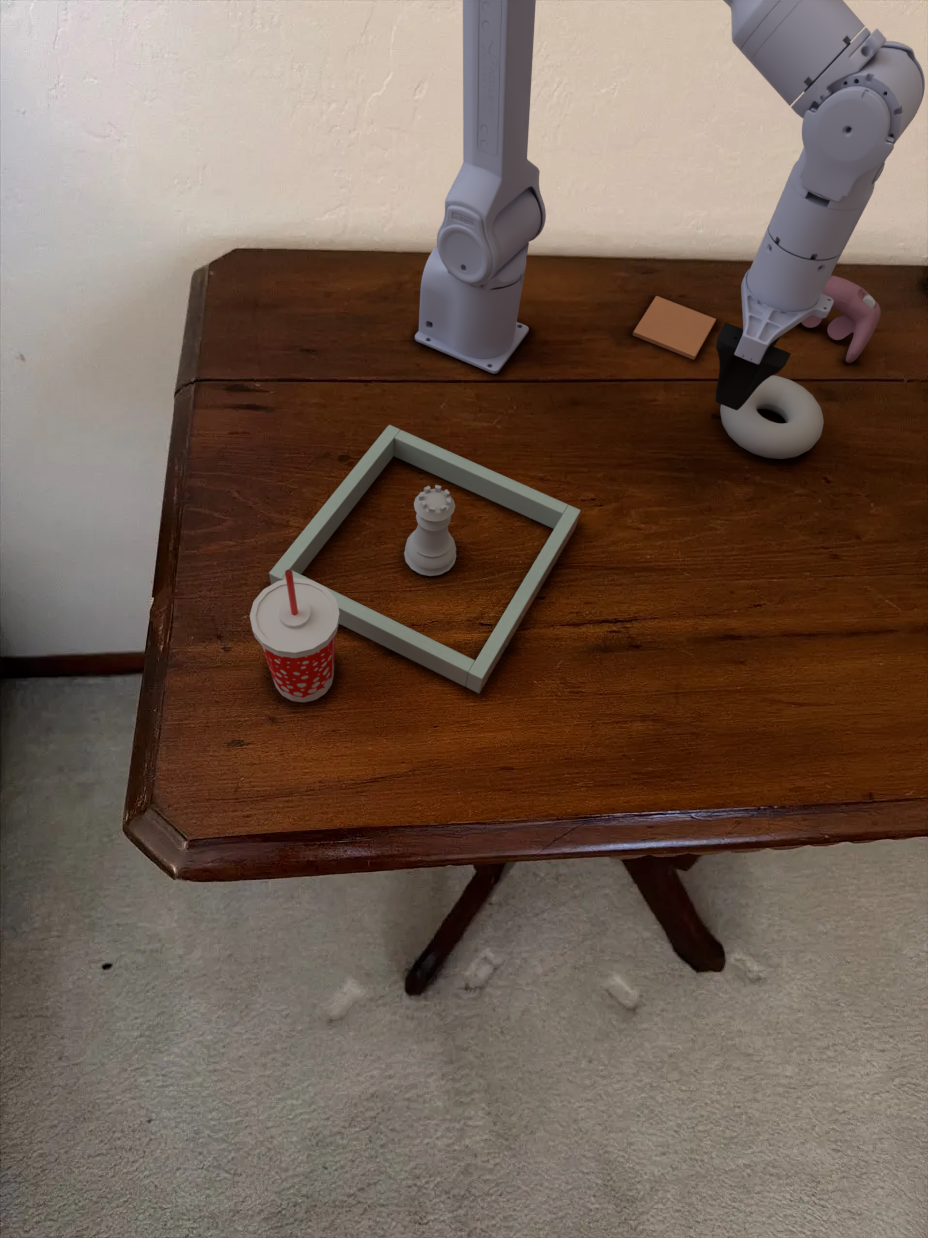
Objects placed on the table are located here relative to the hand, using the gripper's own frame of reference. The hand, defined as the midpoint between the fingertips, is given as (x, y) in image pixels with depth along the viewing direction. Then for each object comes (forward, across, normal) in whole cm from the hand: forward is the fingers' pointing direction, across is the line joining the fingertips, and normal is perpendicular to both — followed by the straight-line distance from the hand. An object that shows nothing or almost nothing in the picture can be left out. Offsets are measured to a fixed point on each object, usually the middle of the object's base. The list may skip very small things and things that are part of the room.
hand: (741, 376), depth 76 cm
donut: (+10, +7, -4) cm, 13 cm away
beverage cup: (+10, -39, +20) cm, 45 cm away
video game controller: (+10, +24, -5) cm, 26 cm away
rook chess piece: (+10, -24, +17) cm, 31 cm away
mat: (+10, +16, +9) cm, 21 cm away
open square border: (+10, -24, +17) cm, 31 cm away
